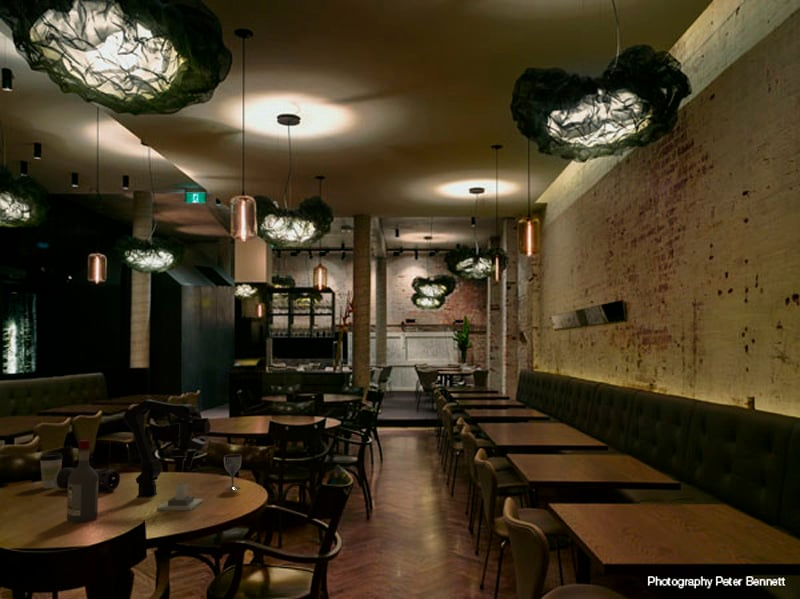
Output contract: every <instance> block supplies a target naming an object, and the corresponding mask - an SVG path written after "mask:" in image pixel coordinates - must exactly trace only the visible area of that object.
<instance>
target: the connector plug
mask: <svg viewBox="0 0 800 599" xmlns="http://www.w3.org/2000/svg"><path fill="white" fill-rule="evenodd" d="M174 494H175V495H174V497H175V500H185V499H187V496H188V483H185V481H182V482H181V481H179V482H178V483H177V484H176V485H175V493H174Z"/></svg>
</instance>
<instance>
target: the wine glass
mask: <svg viewBox="0 0 800 599" xmlns="http://www.w3.org/2000/svg"><path fill="white" fill-rule="evenodd" d="M242 458H243V456H242V454H237V453H236V454H235V453H233V454H232V453H231V454H226V455H224V456H223V463H224V468H225V470H226V471H227V473H229V475H230V478H231V485H230V486H228V487H225V488H224V490H225V491H229V492H230V491H238V490H240V489H241V486H235V485H234V479H235V475H236V473H237V472H238V471H239V470H240V468H241V466H242Z"/></svg>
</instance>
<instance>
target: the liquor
mask: <svg viewBox="0 0 800 599" xmlns="http://www.w3.org/2000/svg"><path fill="white" fill-rule="evenodd" d="M90 442H91V441H90V440H89V439H81V440H79V441H78V464H77V466H76V467H75V470H74V471H73V472H72V473H71V474H70V475H69V478H68V489H67V501H66V502H67V504H66V519H67V522H70V523H72V524H83V523H87V522H92V521H94V520H96V519H97V517H98V513H99V512H98V510H99V508H98V507H99V492H98V477H99V476H98V474H97V472H96V471H95V470H94V468H93V467H92V466H91V465H90Z"/></svg>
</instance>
